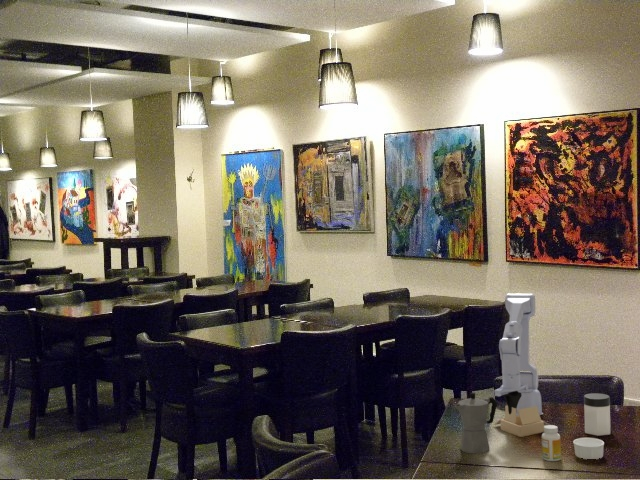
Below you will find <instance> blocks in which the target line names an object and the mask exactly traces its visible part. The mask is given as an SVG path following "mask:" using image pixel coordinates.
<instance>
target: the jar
mask: <svg viewBox="0 0 640 480" xmlns="http://www.w3.org/2000/svg"><path fill="white" fill-rule="evenodd" d="M583 404H584V405H583V406H584V409H583V410H584V411H583V412H584V413H583V414H584V433H585V434H588V435H592V436H597V437H598V436H608V435H611V396H610V395H608V394H605V393H598V392H597V393H596V392H595V393H593V392H592V393H586V394H584V395H583Z"/></svg>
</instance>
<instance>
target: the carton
mask: <svg viewBox="0 0 640 480" xmlns="http://www.w3.org/2000/svg"><path fill="white" fill-rule="evenodd" d="M501 419H502V420H500V419H499V420H500V421H501V424H500V431H503V432H505V433H508V434H511V435H514V436H517V437H519V438H522V437H527V436H531V435H537V434H541V433H542V434H543V433H545V432H544V426H545V425H544V422H543V421H544V420H543V421H538V422H534V423H529V424H524V425H522V423H521V419H520V416H517V417H516V424H515V423H512V422H509V421H506V420H505V419H503V418H501Z"/></svg>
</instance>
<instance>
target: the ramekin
mask: <svg viewBox="0 0 640 480" xmlns="http://www.w3.org/2000/svg"><path fill="white" fill-rule="evenodd" d="M572 442H573V446H574V447H573V448H574V454H575V455H574V456H576V457H577V458H579V459H581V458H583V459H582V460H587V459H596V460H600V459H602V458H603V456H604V446H605V442H604V441H603V440H602V439H599V438H596V437H579V438H576V439H574V440H573V441H572ZM599 458H600V459H599Z"/></svg>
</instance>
